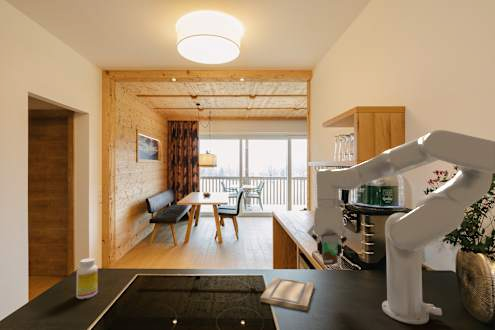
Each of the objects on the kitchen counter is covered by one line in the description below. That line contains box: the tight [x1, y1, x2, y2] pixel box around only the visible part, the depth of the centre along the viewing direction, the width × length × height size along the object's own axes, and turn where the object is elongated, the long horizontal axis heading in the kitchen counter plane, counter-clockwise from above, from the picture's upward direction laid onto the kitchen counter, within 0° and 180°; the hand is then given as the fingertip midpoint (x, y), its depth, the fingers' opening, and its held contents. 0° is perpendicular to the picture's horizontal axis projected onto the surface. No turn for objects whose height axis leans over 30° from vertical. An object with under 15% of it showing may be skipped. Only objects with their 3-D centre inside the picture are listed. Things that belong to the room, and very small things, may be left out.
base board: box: [259, 277, 315, 311], centre depth 93 cm, size 16×18×2 cm
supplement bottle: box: [75, 257, 99, 300], centre depth 93 cm, size 7×7×13 cm
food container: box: [321, 234, 340, 266], centre depth 90 cm, size 12×6×10 cm, turn 168°
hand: (329, 253), depth 90 cm, fingers closed on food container, 5 cm apart
